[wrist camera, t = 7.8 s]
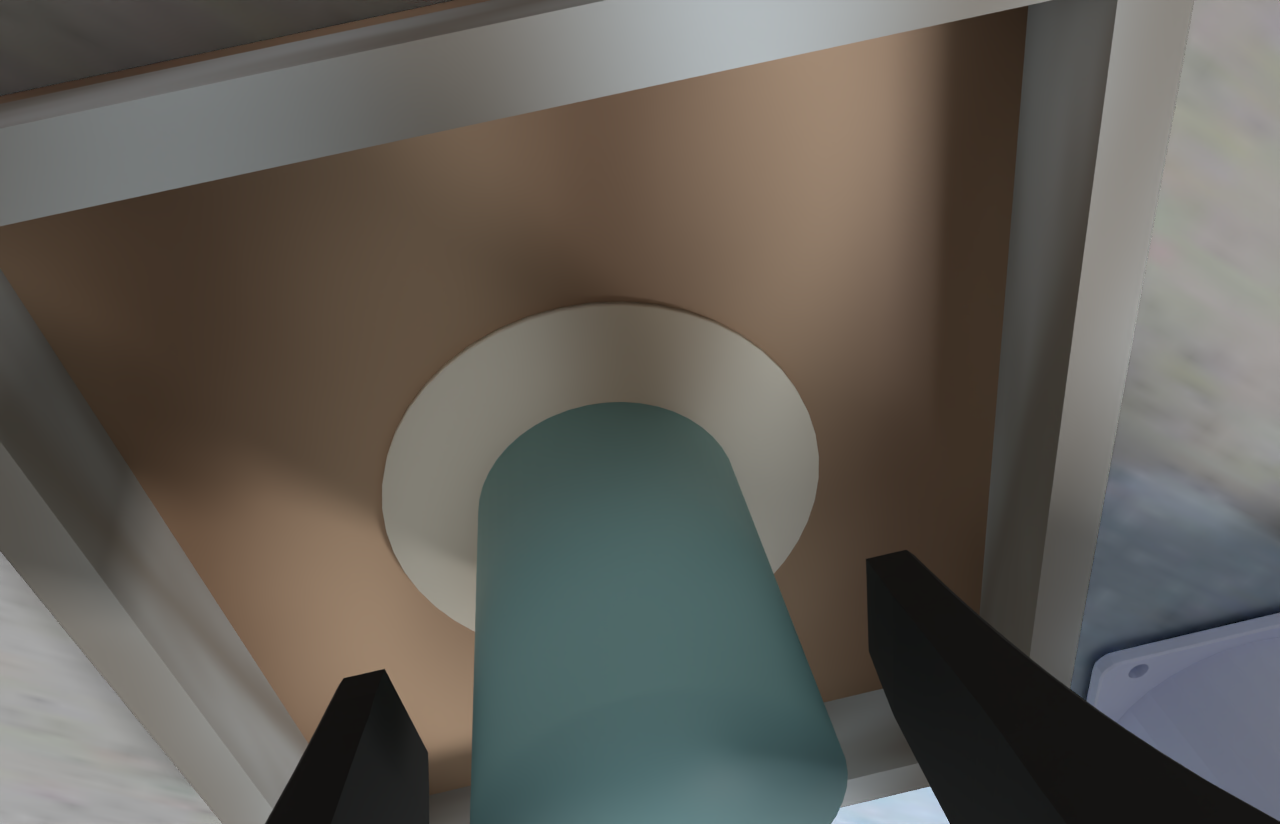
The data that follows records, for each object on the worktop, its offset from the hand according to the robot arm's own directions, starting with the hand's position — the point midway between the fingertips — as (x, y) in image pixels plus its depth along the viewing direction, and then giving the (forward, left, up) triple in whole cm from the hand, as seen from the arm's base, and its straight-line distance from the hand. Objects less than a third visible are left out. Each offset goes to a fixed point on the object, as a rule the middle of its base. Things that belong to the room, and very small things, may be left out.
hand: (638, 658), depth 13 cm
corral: (0, 0, -5) cm, 5 cm away
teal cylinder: (0, 0, -4) cm, 4 cm away
